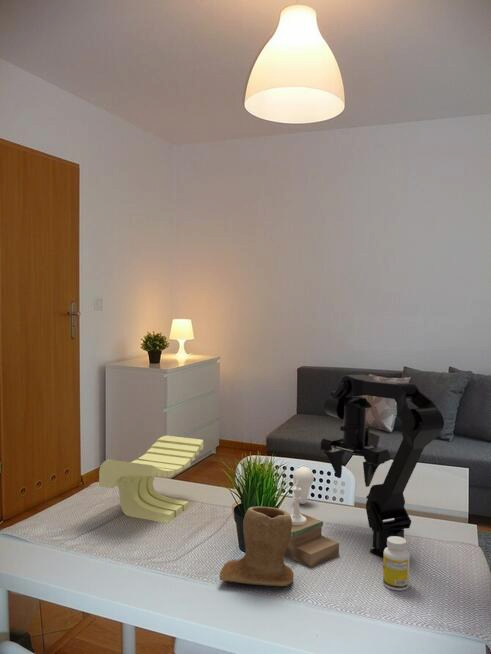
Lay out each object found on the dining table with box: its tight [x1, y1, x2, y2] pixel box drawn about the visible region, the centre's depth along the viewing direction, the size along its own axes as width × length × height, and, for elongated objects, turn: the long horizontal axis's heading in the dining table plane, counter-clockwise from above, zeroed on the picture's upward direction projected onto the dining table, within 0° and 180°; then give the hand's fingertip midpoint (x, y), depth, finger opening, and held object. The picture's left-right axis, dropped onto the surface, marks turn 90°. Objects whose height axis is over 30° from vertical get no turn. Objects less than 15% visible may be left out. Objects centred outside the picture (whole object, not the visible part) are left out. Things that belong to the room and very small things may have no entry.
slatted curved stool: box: [98, 435, 204, 524], centre depth 162 cm, size 30×16×18 cm, turn 159°
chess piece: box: [289, 480, 307, 525], centre depth 138 cm, size 5×5×10 cm
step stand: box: [284, 512, 340, 568], centre depth 136 cm, size 13×10×6 cm
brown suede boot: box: [219, 506, 295, 587], centre depth 123 cm, size 15×12×15 cm
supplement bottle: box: [382, 536, 411, 592], centre depth 121 cm, size 5×5×10 cm
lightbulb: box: [292, 466, 315, 505], centre depth 169 cm, size 6×6×11 cm
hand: (353, 482), depth 149 cm, fingers open, 9 cm apart
